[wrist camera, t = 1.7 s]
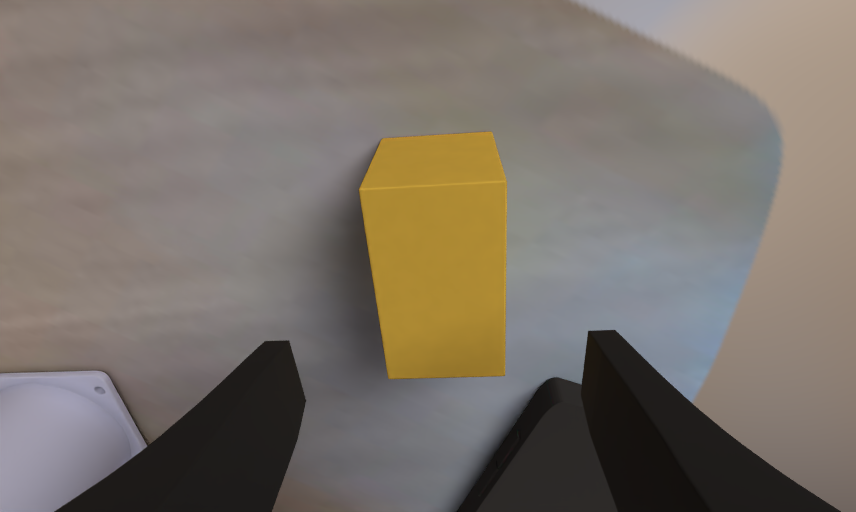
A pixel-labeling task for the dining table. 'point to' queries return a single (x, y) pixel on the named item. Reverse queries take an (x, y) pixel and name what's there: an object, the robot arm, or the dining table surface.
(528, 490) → the smart home device
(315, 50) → the dining table surface
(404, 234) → the yellow block
